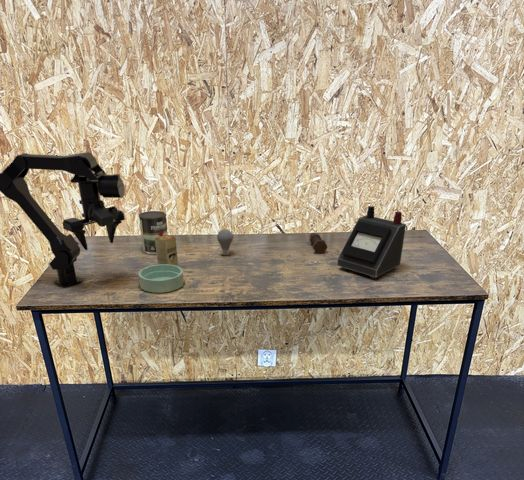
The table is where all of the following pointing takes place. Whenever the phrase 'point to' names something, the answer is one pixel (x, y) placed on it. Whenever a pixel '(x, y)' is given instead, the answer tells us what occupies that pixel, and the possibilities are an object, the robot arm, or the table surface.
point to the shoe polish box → (166, 250)
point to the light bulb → (225, 240)
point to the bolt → (318, 243)
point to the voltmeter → (373, 245)
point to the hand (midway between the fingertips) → (99, 246)
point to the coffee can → (152, 229)
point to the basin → (161, 278)
